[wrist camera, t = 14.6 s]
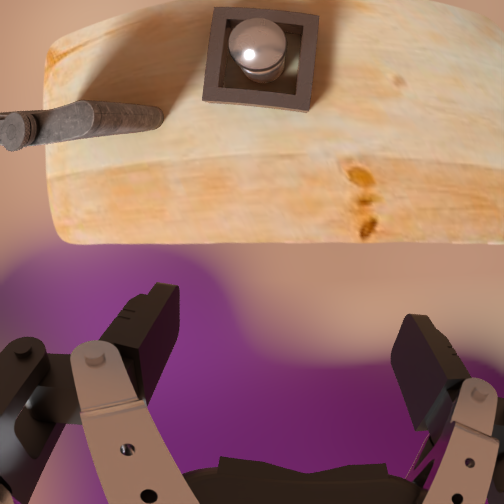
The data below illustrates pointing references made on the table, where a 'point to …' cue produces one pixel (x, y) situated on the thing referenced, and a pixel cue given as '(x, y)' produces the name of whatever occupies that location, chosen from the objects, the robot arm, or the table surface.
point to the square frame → (218, 94)
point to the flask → (75, 123)
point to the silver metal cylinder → (259, 49)
